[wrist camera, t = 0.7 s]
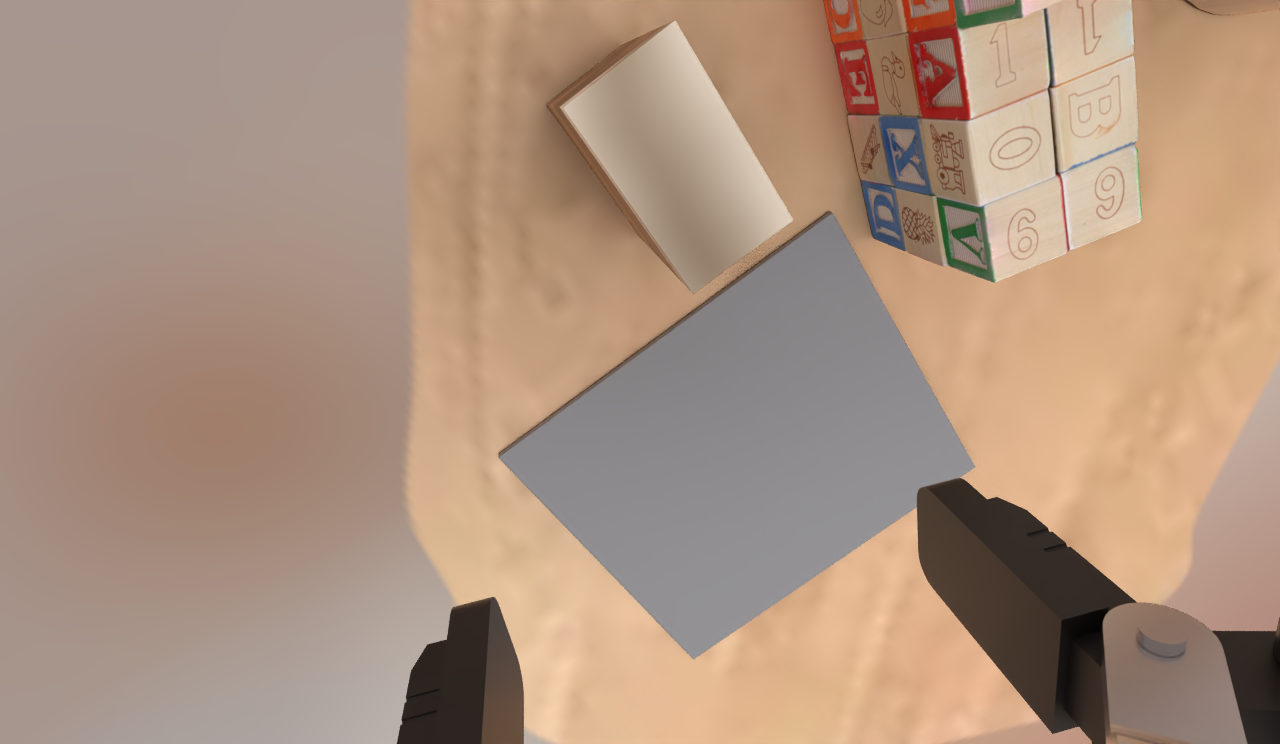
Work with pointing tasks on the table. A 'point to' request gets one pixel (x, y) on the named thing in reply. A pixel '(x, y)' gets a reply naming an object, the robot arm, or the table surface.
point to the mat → (746, 443)
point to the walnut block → (672, 156)
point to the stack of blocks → (991, 125)
